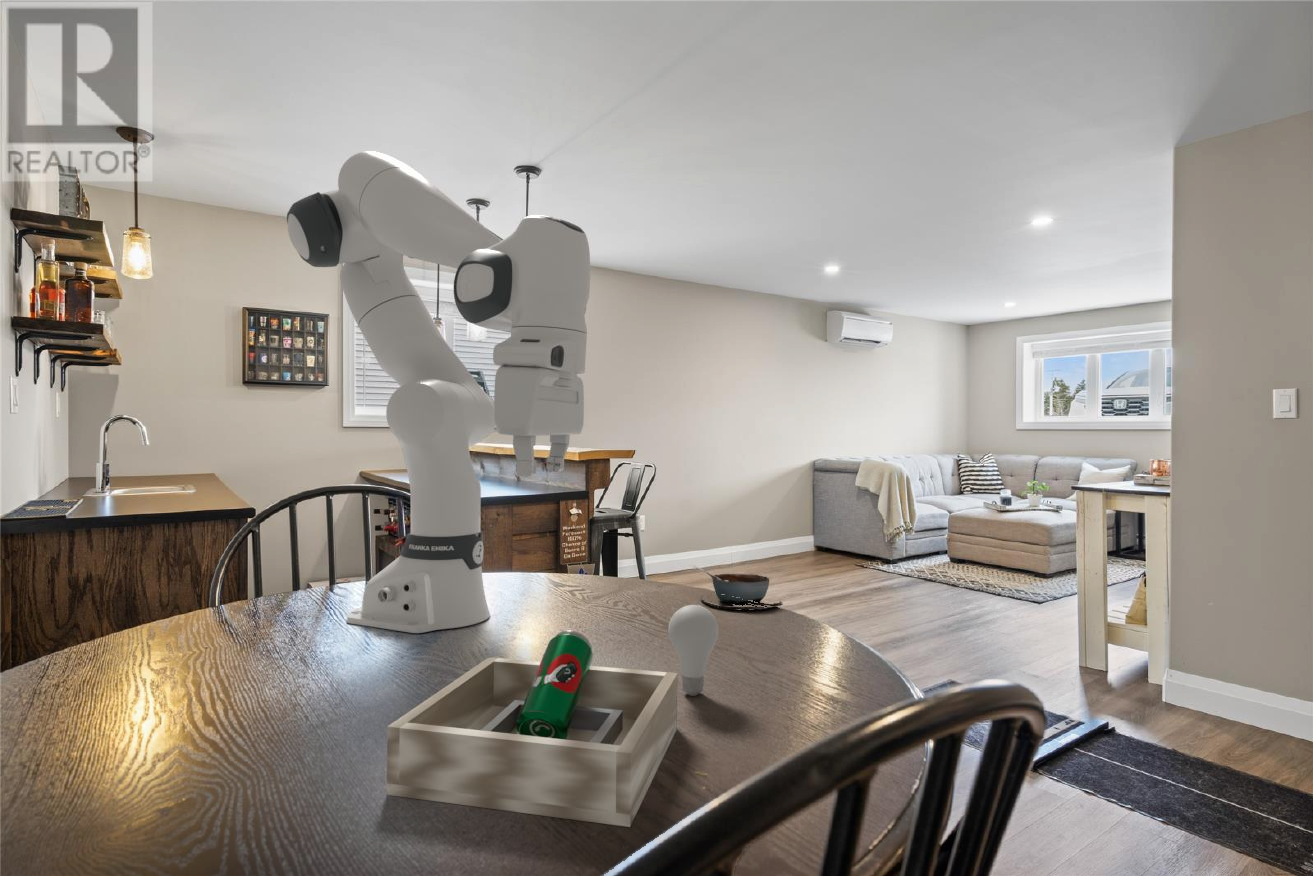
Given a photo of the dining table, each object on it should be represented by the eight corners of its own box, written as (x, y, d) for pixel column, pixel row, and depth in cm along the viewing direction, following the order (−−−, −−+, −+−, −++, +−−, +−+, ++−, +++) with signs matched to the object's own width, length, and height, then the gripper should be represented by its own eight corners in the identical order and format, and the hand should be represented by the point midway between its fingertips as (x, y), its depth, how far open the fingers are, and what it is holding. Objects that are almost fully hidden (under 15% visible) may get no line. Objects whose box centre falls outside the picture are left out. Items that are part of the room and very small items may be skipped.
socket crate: (386, 794, 64) (387, 726, 63) (488, 709, 83) (488, 657, 83) (630, 827, 59) (630, 753, 59) (677, 728, 78) (677, 673, 78)
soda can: (575, 747, 69) (603, 656, 79) (548, 710, 67) (580, 622, 77) (531, 757, 70) (564, 667, 81) (504, 721, 69) (541, 634, 79)
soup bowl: (763, 621, 123) (763, 578, 123) (680, 609, 132) (681, 568, 131) (793, 604, 136) (794, 564, 136) (716, 593, 144) (717, 556, 144)
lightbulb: (665, 687, 91) (666, 599, 91) (713, 686, 91) (714, 599, 91) (670, 706, 85) (671, 612, 85) (722, 704, 85) (723, 611, 85)
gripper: (552, 362, 96) (546, 466, 97) (486, 345, 76) (478, 477, 77) (598, 365, 95) (592, 470, 95) (542, 348, 75) (535, 481, 75)
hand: (541, 473), depth 86 cm, fingers open, 8 cm apart
